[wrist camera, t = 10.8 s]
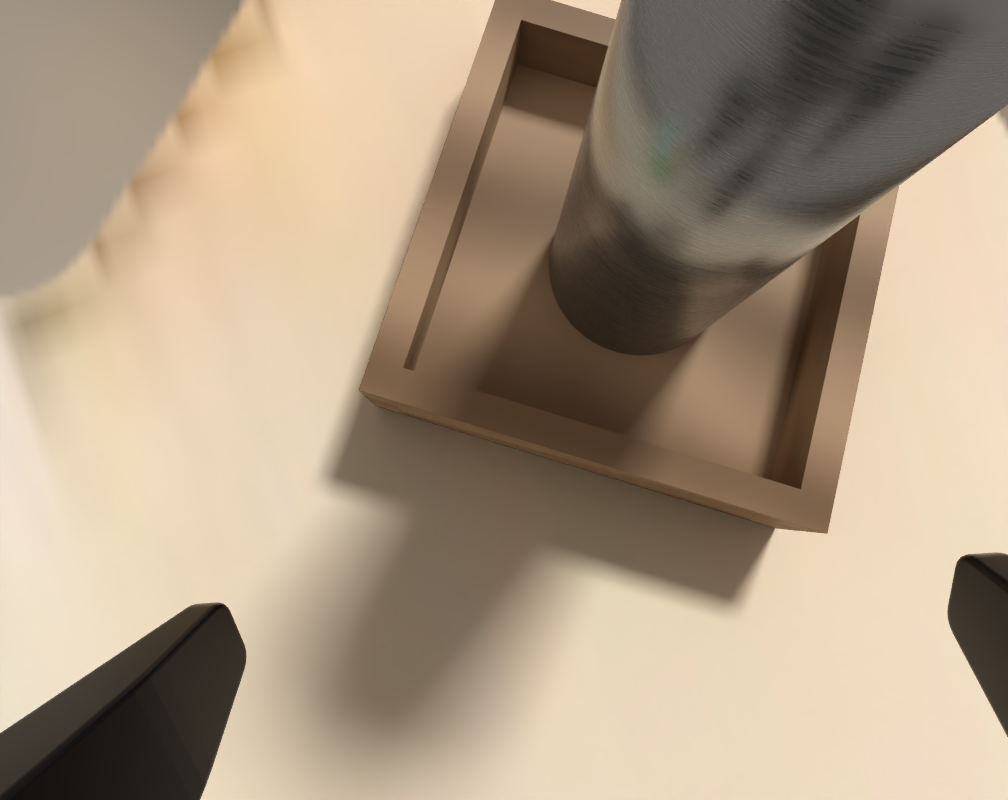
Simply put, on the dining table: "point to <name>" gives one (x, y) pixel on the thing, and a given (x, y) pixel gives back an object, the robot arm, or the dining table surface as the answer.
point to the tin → (754, 146)
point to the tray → (576, 359)
